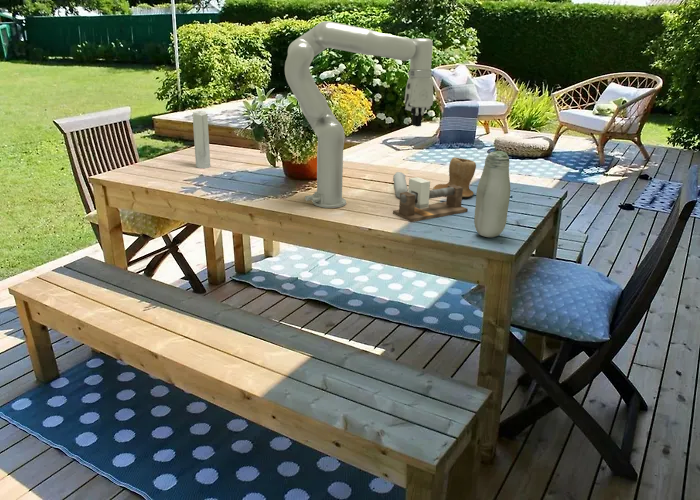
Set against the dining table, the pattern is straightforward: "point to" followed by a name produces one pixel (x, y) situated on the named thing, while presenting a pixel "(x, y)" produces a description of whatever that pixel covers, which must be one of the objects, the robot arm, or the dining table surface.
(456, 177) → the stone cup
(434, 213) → the pipe stand
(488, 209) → the glass bottle
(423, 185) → the cream upright slab
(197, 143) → the grey upright post
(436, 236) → the dining table surface
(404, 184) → the tube
